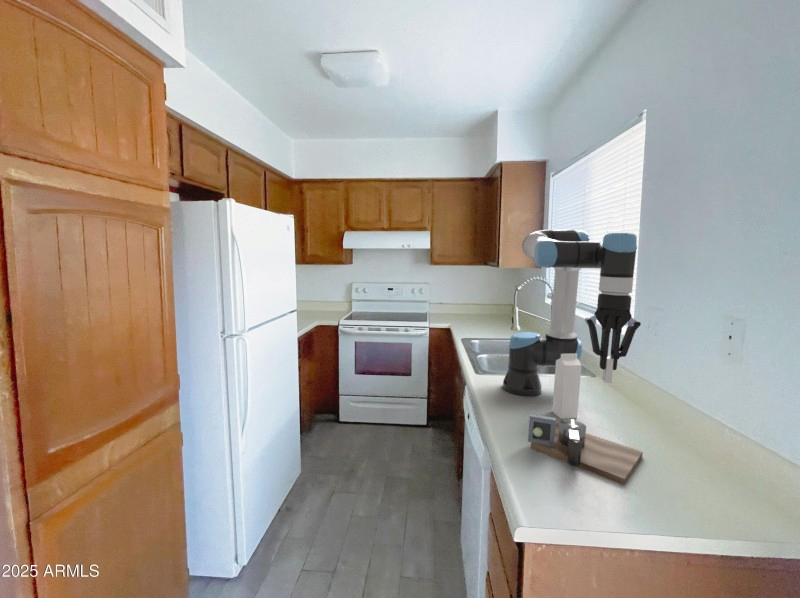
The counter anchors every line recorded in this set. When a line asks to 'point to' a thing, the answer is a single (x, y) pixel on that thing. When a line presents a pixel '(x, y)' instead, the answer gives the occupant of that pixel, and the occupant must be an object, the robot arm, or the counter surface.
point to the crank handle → (572, 439)
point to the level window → (541, 430)
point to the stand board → (598, 456)
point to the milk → (566, 386)
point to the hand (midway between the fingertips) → (606, 380)
